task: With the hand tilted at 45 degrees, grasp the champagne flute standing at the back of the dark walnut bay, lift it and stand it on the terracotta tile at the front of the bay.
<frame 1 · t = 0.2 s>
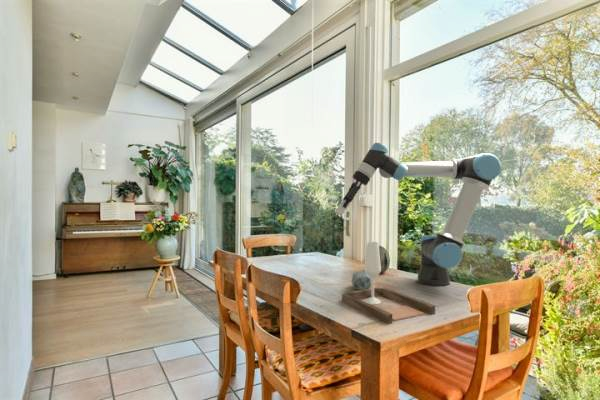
hand: (338, 213, 161), 35 cm above the table, fingers open, 13 cm apart
mottled grey rounded block: (361, 289, 162), on the table
decorative egg: (379, 273, 194), on the table
champagne flute: (372, 301, 143), resting in bay
bay: (385, 307, 136), on the table
front tile: (400, 313, 129), on the table
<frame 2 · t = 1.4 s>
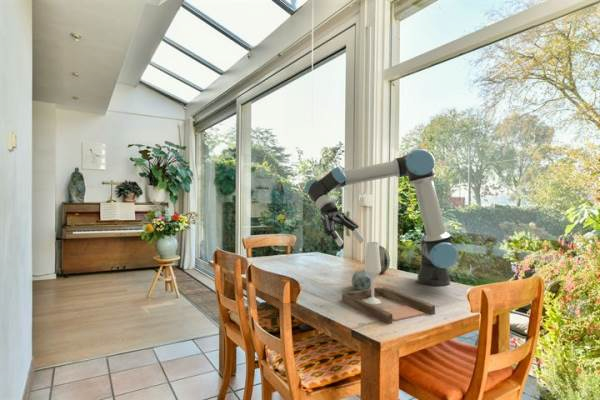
hand: (352, 243, 151), 23 cm above the table, fingers open, 13 cm apart
nothing on the table moved.
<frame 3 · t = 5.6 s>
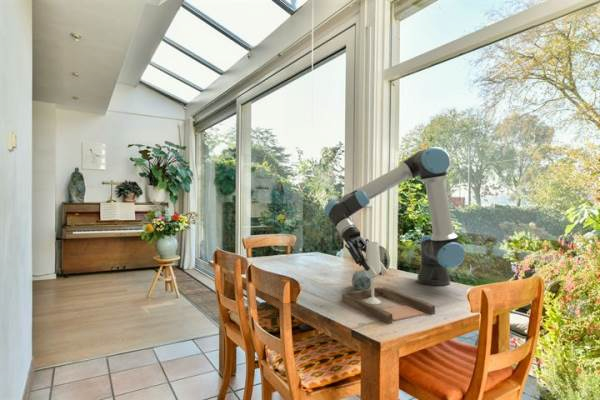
hand: (379, 274, 141), 11 cm above the table, fingers closed on champagne flute, 7 cm apart
champagne flute: (372, 301, 143), resting in bay, touching gripper
everything else where it was.
when the fingers open (13 cm above the table, at t = 12.4 s): champagne flute drops 1 cm, resting on front tile.
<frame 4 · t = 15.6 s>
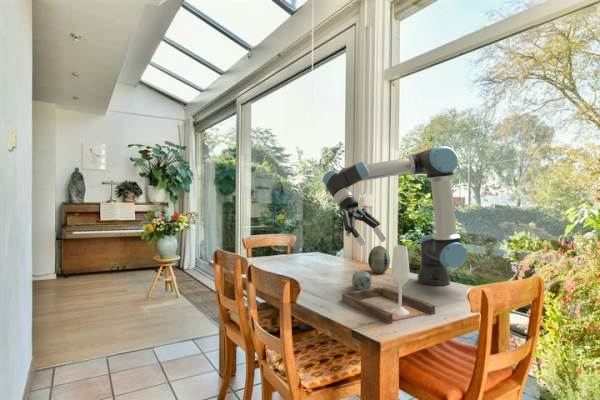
hand: (374, 242, 139), 25 cm above the table, fingers open, 13 cm apart
champagne flute: (400, 312, 129), resting on front tile
everything else where it was.
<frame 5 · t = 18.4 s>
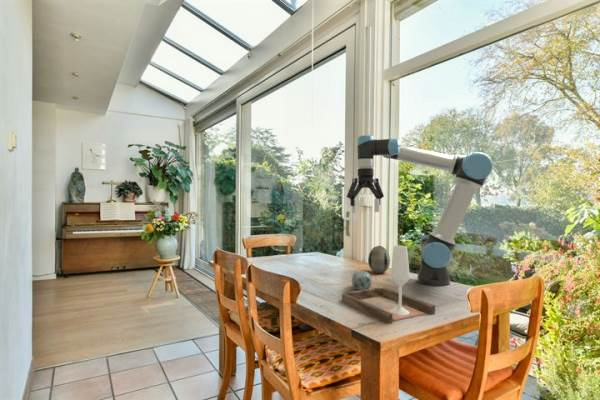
hand: (365, 212, 170), 35 cm above the table, fingers open, 13 cm apart
nothing on the table moved.
at the end: champagne flute inside the target area (0.1 cm from its centre), resting on front tile; champagne flute tilted 0°; the gripper is holding nothing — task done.
